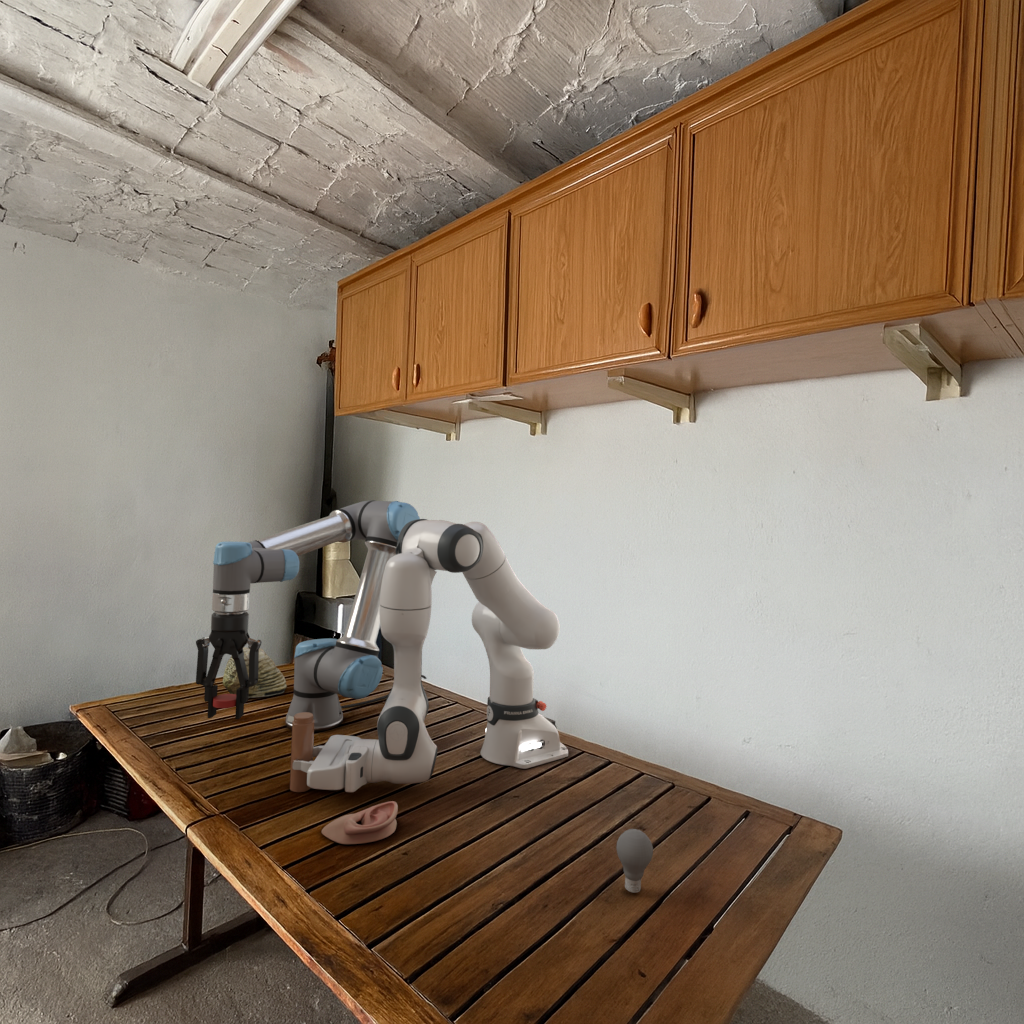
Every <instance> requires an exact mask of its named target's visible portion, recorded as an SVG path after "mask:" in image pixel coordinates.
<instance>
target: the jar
mask: <svg viewBox="0 0 1024 1024" xmlns="http://www.w3.org/2000/svg"><path fill="white" fill-rule="evenodd" d="M313 718H314V716H313V714H312V713H309V712H302V713H297V714H295V715H294V720H293V722H292V729H291V745H290V769H289V770H290V771H289V772H290V773H289V774H290V775H289V790H290V791H291V792H293V793H304V792H308V791H310V790H312V788H311V787H309V786H307V773H306V772H304V771H301V770H294V769H293V762H294V761H295V759H303V761H307V762H309V761H314V757H313V748H314V747H315V745H314V743H315V732H314V722H315V721H314V719H313Z"/></svg>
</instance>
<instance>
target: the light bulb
mask: <svg viewBox="0 0 1024 1024" xmlns="http://www.w3.org/2000/svg"><path fill="white" fill-rule="evenodd" d="M615 849H616V854H617V857H618V859H619V861H620V863H621V865H622V867H623V873H624V874H623V875H624V876H625V878H624V888H625V890H627V891H628V892H630V893H634V894H635V893H639V892H640V891H641V889H642V887H641V886H642V879H643V877H644V875H645V871H646V868H647V867H648V866H649V864H650V863H651V861H652V859H653V855H654V847H653V843H652V841H651V838H649V836H648V835H647V834H646V833H645V832H643V831H642V830H641V829H636V828H629V829H627V830H625V831H623V832H622V833H621V834H620V835H619V837H618V839H617V841H616V847H615Z"/></svg>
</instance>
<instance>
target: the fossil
mask: <svg viewBox="0 0 1024 1024" xmlns="http://www.w3.org/2000/svg"><path fill="white" fill-rule="evenodd" d="M243 651H244V660H245V664H246V668H247V673H248V677H249V652H250V649H249V648H248V646H246V647H245V646H244V648H243ZM222 676H223V677H222V685H223V687H224V688H225V690H226V691H228V693H229V694H236V691H237V689H238V688H239V687H240V684H239V679H238V675H237V671H236V666H235V662H234V660H233V658H232V655H230V657H229V659H228V660H227V663H226V666H225V668H224V671H223V675H222ZM287 687H288V686H287V680H286V678H285V676H284V674H283V673H282V672H281V669H279V668H278V667H277V665H276V663H275V662H274V660H273V659H272V658H271V657H270V656H269V655H268V654H267V653H266V652H265V650H264V649H263V648H261V647H260V648H259V665H258V683H256V684H255V685H254V686H252V687H249V696H248V697H249V698H248V699H250V698H264V697H271V696H275V695H281V694H284V693H285V691H286V689H287Z"/></svg>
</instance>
